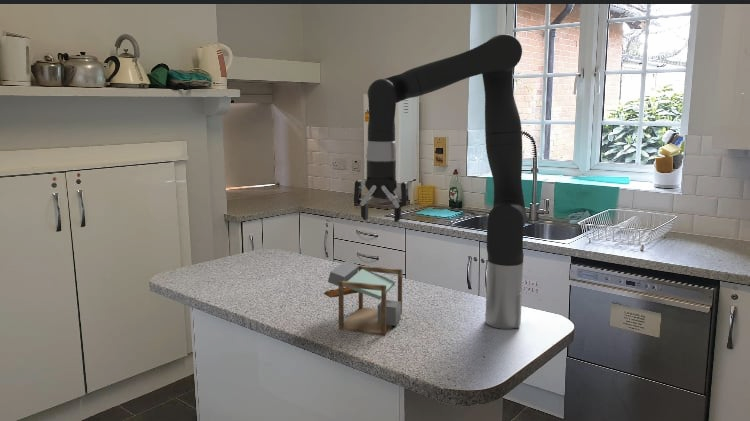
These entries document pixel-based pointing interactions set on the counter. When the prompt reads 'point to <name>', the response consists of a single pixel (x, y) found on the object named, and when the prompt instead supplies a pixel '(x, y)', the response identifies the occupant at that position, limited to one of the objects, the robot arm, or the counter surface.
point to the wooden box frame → (367, 317)
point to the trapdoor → (359, 278)
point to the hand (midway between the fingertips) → (380, 220)
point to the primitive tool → (336, 292)
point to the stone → (391, 312)
